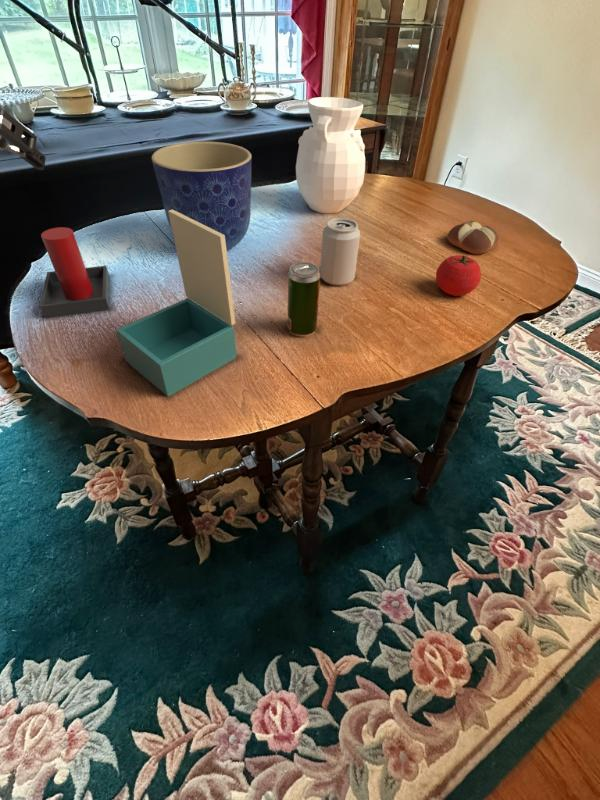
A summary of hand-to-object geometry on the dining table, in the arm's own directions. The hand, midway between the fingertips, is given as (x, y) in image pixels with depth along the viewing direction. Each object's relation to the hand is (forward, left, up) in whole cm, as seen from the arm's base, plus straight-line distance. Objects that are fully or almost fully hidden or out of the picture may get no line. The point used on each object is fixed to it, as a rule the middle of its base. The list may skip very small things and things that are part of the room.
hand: (16, 161), depth 64 cm
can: (+53, -1, -26) cm, 59 cm away
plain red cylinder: (+1, +5, -25) cm, 25 cm away
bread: (+92, +7, -26) cm, 95 cm away
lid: (+23, -17, -12) cm, 31 cm away
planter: (+30, +23, -26) cm, 45 cm away
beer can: (+40, -17, -26) cm, 50 cm away
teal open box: (+18, -20, -25) cm, 37 cm away
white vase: (+65, +38, -26) cm, 79 cm away
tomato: (+75, -12, -26) cm, 80 cm away
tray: (+1, +5, -25) cm, 26 cm away
